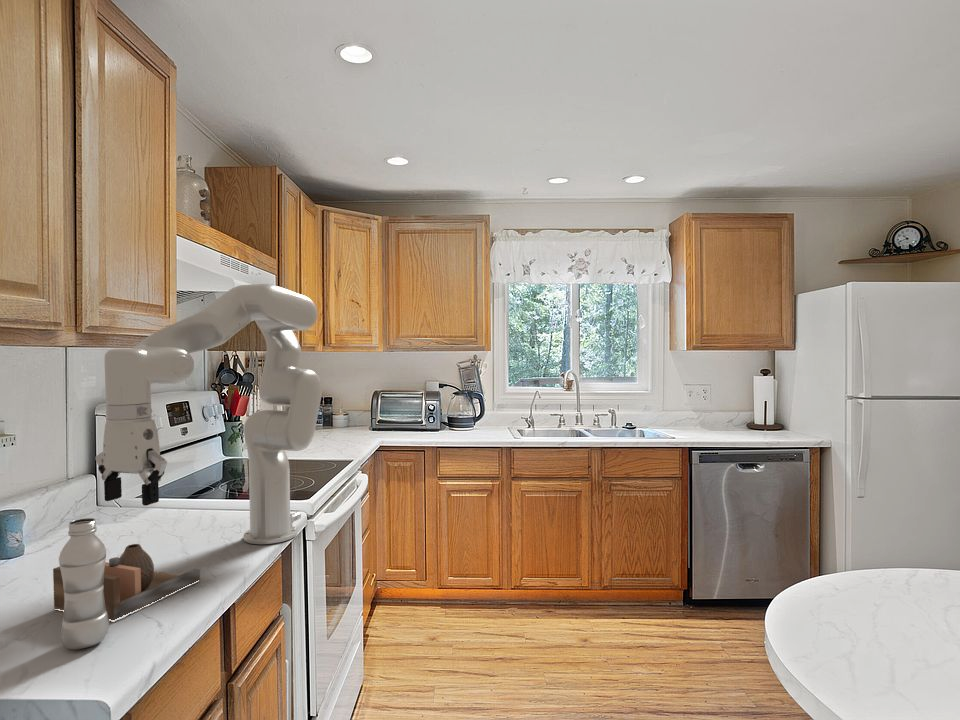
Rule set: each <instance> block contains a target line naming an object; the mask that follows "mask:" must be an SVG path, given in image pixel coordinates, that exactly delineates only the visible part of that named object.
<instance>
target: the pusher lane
mask: <svg viewBox="0 0 960 720" xmlns="http://www.w3.org/2000/svg"><path fill="white" fill-rule="evenodd" d="M198 580H200V581H201V569H200V568H193V569H191V570H189V571H186V572H184V573H182V574H173V573H168V572H167V573H166V572H160V571H157V570H154V576H153V579H152V582H151V584H150V585H149V586H148V587H147V589H146V590H144V591H143V592H141V593H139V594H137V595H135V596H133V597H130V598H128V599H126V600H124V601H121V602H120V578H119V577H116V576H111V575H105V574H104V583H103V585H104V588H103V592H104V599H105V607H106V611H107V614H108V619H111V620H115V619H117V618H119V617H122V616H123V615H126V614H128V613H130V612H133V611H135V610H137V609H140V608H142V607H144V606H146V605H148V604H151V603H152V602H155V601H157V600H159V599H161V598H162V597H165V596H166V595H169V594H171V593H173V592H175V591H177V590H179V589H181V588H183V587H185V586H187V585H189V584H192V583H194V582H196V581H198ZM52 581H53V610H54V609H60V610H64V601H65V598H64V588H63V579H62V574H61V570H60V566H57V567H54V568H52Z"/></svg>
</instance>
